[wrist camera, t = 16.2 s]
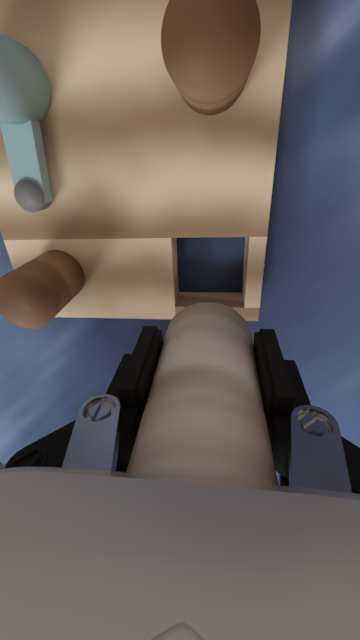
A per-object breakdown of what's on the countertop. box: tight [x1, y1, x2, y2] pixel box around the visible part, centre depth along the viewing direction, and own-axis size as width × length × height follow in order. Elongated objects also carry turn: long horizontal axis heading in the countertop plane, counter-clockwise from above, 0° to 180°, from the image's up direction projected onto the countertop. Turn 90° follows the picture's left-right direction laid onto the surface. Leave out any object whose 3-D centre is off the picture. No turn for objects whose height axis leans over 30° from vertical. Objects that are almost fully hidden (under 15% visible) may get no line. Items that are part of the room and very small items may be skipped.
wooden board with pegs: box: [0, 0, 292, 329], centre depth 19 cm, size 20×20×8 cm
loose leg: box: [126, 302, 278, 485], centre depth 10 cm, size 4×4×9 cm
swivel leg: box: [0, 32, 53, 213], centre depth 16 cm, size 9×4×5 cm, turn 178°
